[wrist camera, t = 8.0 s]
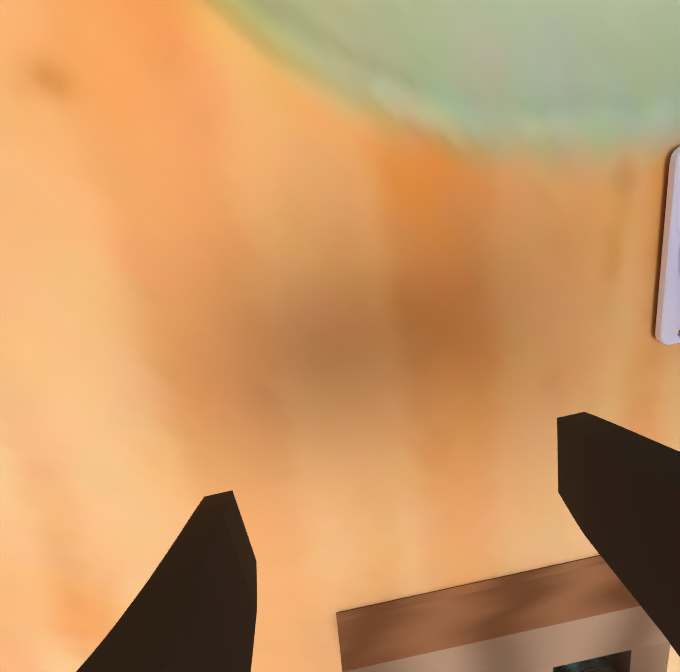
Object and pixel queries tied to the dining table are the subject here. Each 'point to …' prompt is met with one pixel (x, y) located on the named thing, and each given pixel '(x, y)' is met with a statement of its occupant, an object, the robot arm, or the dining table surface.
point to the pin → (587, 666)
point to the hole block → (508, 626)
